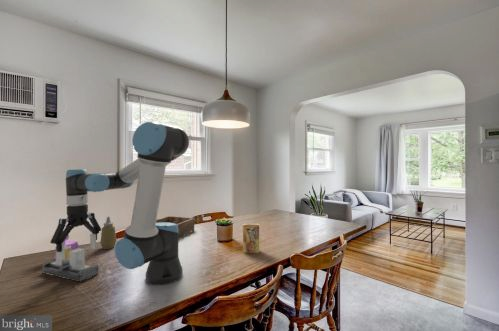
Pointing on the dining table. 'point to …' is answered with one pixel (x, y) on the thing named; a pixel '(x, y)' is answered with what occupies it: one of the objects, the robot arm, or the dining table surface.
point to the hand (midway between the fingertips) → (78, 253)
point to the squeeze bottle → (108, 235)
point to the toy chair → (70, 244)
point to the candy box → (250, 238)
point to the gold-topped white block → (77, 260)
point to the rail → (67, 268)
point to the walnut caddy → (180, 224)
